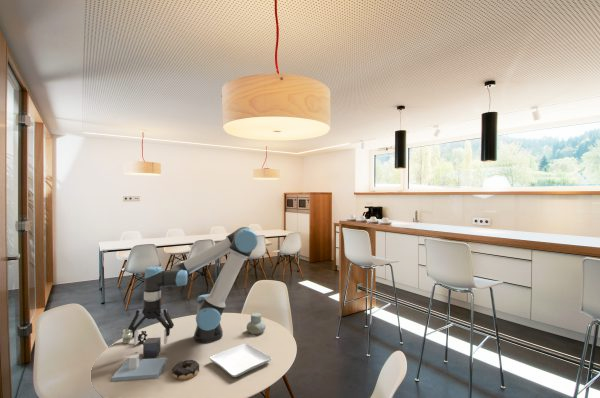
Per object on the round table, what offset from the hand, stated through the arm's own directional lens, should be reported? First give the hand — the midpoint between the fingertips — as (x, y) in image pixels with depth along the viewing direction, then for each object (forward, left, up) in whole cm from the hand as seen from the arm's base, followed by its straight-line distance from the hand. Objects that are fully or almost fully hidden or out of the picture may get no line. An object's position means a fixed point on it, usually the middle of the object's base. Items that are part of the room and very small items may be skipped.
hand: (150, 343), depth 148 cm
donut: (-21, +19, -6) cm, 29 cm away
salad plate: (-43, +14, -6) cm, 46 cm away
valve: (+14, -15, -6) cm, 22 cm away
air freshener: (-50, -20, -6) cm, 55 cm away
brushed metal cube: (0, 0, -6) cm, 6 cm away
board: (0, +14, -6) cm, 15 cm away
